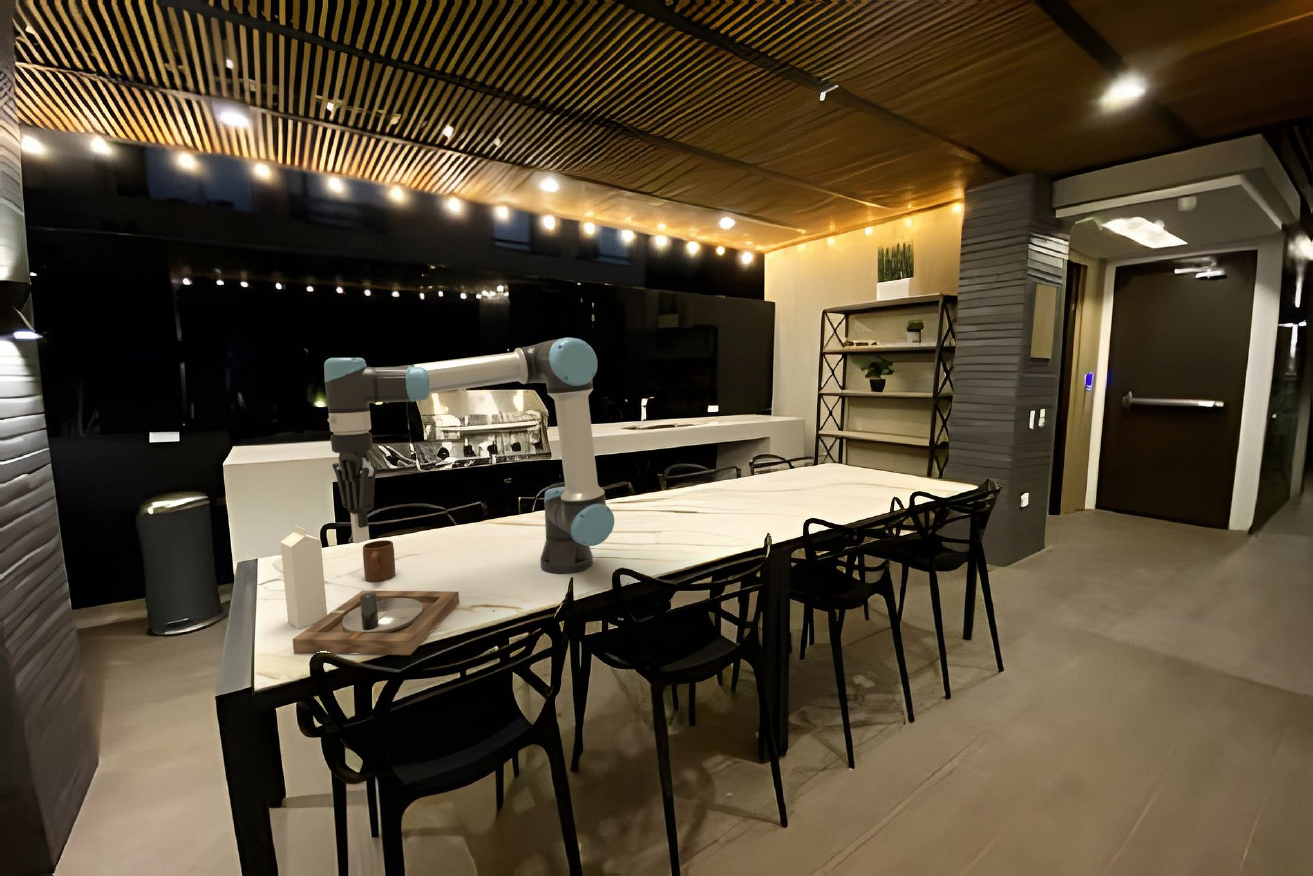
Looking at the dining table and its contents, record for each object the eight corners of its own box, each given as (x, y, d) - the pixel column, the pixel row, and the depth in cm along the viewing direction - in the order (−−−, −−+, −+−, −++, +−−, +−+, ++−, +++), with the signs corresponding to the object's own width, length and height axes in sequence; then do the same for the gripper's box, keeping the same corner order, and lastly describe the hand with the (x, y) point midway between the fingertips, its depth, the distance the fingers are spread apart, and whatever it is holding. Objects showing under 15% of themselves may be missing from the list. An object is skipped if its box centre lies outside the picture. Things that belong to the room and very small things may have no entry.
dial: (362, 604, 126) (360, 571, 125) (432, 601, 127) (430, 568, 126) (327, 637, 110) (324, 599, 109) (407, 634, 111) (405, 596, 110)
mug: (391, 586, 141) (389, 552, 140) (359, 590, 138) (356, 555, 137) (397, 570, 152) (395, 538, 151) (367, 574, 150) (364, 541, 148)
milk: (316, 612, 126) (309, 521, 123) (328, 619, 122) (320, 526, 120) (287, 622, 121) (278, 527, 118) (297, 629, 117) (289, 532, 115)
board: (459, 603, 130) (458, 590, 130) (410, 655, 106) (409, 640, 106) (363, 602, 131) (362, 589, 131) (293, 653, 107) (292, 638, 107)
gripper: (316, 432, 111) (327, 541, 115) (350, 436, 105) (361, 551, 108) (352, 428, 118) (361, 532, 121) (386, 431, 111) (395, 540, 114)
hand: (361, 541), depth 114 cm, fingers closed
